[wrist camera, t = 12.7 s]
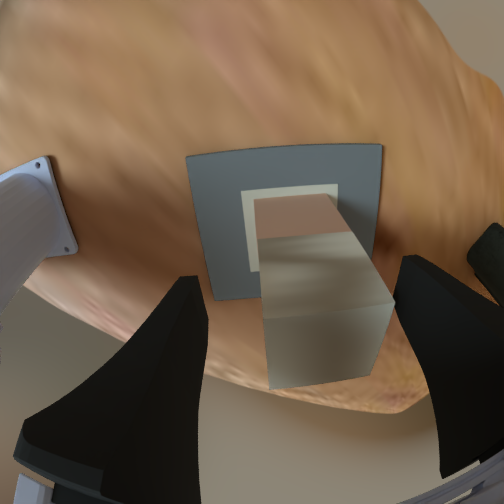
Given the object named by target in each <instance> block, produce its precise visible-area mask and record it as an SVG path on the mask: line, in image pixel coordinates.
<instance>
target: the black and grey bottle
mask: <svg viewBox="0 0 504 504" xmlns="http://www.w3.org/2000/svg"><path fill="white" fill-rule="evenodd" d="M467 261H468V263H469V264H470V265H471V266H472V267H473V269H474V271H475V276H476V277H477V278H478V279H479V281H480V282H481V283H482V284H483V285H484V287H485V288H486V289H487V290H488V291H489V293H490V294H491V295H492V296H493V298H494V299H495V300H496V302H497V303H498V304H499V305H500V306H501V307H502V308H504V228H503V227H502V226H501V225H499V224H498V223H493V224H492V225H491V226H490V227H489V228H488V229H487V230H486V231H485V232H484V234H483V235H482V236H481V237H480V238H479V239H478V240H477V242H476V243H475V244H474V245H473V246H472V247H471V249H470V250H469V252H468V255H467Z"/></svg>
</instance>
